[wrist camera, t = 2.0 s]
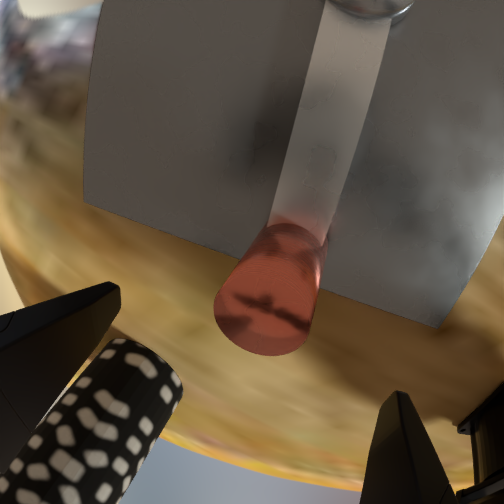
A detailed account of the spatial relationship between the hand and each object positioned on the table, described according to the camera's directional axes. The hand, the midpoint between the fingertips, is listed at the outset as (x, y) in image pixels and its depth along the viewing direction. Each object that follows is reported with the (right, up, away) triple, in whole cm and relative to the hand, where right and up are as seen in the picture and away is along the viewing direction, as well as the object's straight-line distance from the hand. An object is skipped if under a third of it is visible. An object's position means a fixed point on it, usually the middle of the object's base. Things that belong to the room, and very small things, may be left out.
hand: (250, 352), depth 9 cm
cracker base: (+2, +12, +3) cm, 12 cm away
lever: (+4, +10, +2) cm, 11 cm away
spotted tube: (-10, -8, +18) cm, 22 cm away
